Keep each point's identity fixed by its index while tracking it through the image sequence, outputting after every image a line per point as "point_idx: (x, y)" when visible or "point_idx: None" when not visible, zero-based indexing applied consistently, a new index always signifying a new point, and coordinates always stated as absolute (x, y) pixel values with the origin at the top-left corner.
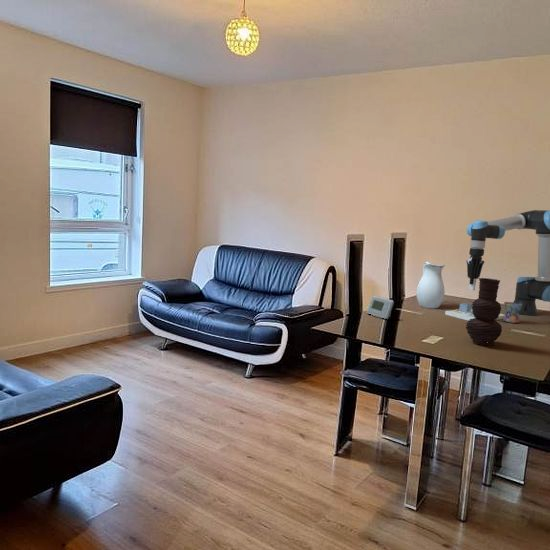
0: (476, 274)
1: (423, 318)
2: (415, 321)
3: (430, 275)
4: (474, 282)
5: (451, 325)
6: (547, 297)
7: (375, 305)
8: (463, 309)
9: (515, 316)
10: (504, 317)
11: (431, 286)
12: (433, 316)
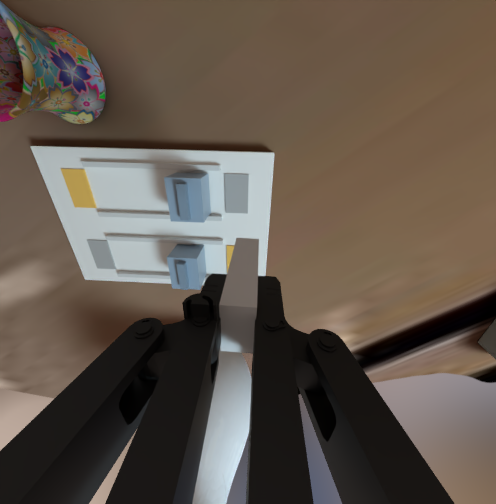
0: (205, 368)
1: (406, 269)
2: (490, 250)
3: (221, 489)
4: (249, 277)
5: (444, 149)
6: None
7: None
8: (203, 262)
9: (42, 28)
10: (90, 104)
11: (235, 419)
12: (337, 275)
